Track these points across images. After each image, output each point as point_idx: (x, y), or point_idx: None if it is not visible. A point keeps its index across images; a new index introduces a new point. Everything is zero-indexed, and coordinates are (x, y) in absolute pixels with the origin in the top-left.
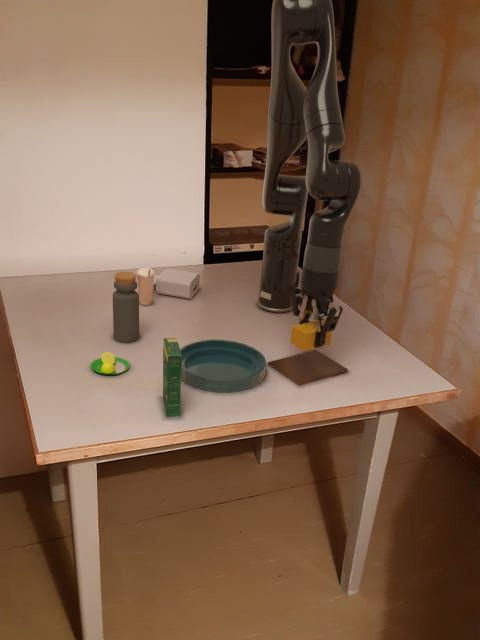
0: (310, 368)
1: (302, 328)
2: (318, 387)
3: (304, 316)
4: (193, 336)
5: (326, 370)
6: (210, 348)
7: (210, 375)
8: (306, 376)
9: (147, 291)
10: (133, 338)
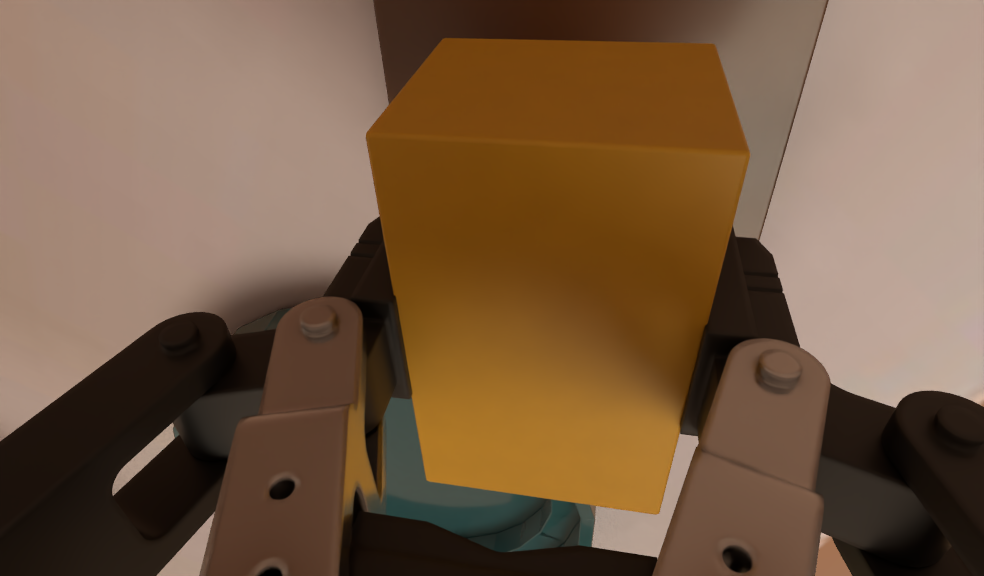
0: None
1: (524, 460)
2: (834, 217)
3: (382, 460)
4: (45, 351)
5: (740, 26)
6: None
7: (423, 492)
8: None
9: None
10: None
